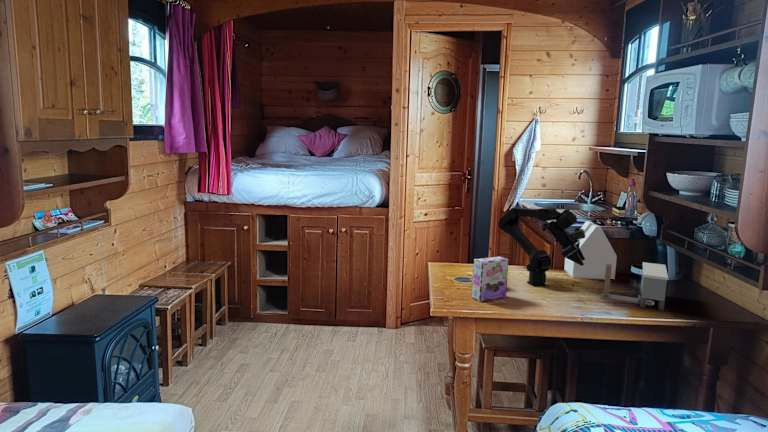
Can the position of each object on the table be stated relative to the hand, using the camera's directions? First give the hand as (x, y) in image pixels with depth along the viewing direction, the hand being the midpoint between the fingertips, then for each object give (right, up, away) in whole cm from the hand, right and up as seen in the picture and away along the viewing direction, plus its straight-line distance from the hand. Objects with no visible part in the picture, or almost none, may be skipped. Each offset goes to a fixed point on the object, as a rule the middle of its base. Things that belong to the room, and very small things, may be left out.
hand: (583, 262), depth 221 cm
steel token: (+23, -16, -9) cm, 29 cm away
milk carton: (+15, -9, +33) cm, 37 cm away
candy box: (-42, -14, -7) cm, 45 cm away
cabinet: (+25, -15, -6) cm, 30 cm away
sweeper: (+13, -15, -5) cm, 21 cm away
